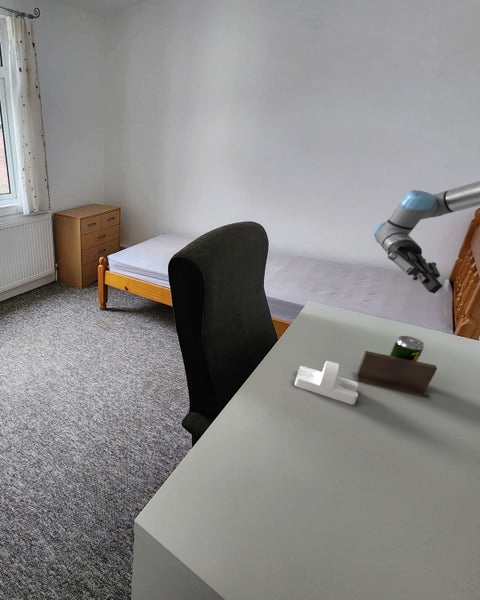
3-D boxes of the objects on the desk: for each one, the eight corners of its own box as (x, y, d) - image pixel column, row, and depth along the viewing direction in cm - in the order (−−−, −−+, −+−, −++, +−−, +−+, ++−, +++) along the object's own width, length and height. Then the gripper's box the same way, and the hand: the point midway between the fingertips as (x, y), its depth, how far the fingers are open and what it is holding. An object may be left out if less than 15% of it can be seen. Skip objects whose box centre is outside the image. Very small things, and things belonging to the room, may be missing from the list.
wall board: (422, 390, 88) (435, 365, 85) (426, 397, 85) (439, 372, 82) (355, 374, 94) (365, 350, 91) (357, 381, 92) (367, 356, 89)
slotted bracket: (354, 390, 89) (364, 366, 85) (354, 405, 84) (364, 380, 80) (297, 372, 96) (304, 349, 93) (294, 385, 91) (301, 362, 88)
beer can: (378, 376, 94) (393, 339, 88) (386, 369, 96) (402, 333, 91) (402, 387, 89) (420, 348, 84) (410, 379, 92) (428, 342, 87)
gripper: (414, 264, 113) (449, 306, 95) (372, 252, 115) (400, 291, 97) (432, 245, 108) (474, 286, 90) (389, 233, 110) (421, 270, 92)
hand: (435, 288), depth 94 cm, fingers closed
